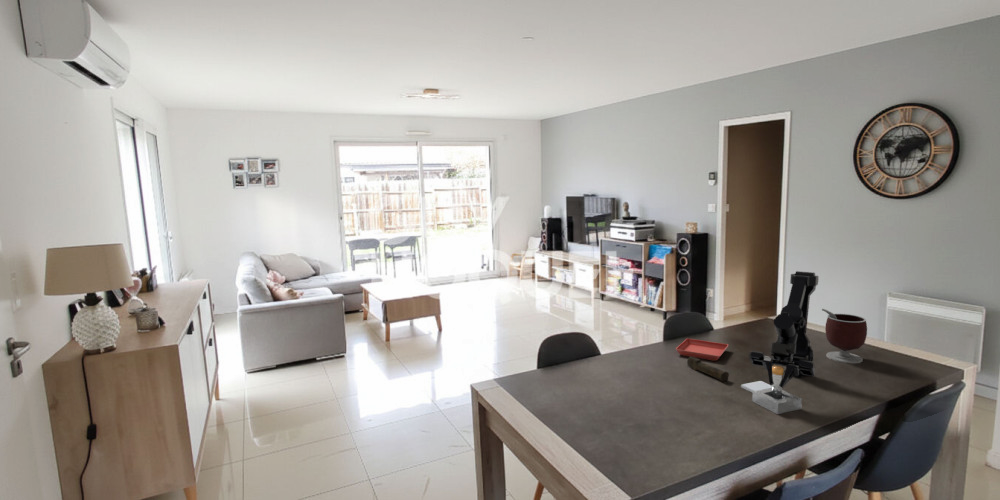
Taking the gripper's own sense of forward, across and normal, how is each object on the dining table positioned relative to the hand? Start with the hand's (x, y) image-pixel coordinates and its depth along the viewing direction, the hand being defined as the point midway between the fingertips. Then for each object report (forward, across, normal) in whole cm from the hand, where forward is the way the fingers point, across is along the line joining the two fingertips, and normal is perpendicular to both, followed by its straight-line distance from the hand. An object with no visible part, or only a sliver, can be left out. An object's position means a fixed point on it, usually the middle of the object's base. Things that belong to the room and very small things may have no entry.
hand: (776, 386), depth 161 cm
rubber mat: (-3, -7, +13) cm, 15 cm away
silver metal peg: (+4, 0, +6) cm, 7 cm away
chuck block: (+4, 0, +6) cm, 7 cm away
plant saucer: (-21, -37, +32) cm, 53 cm away
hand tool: (-5, -28, +16) cm, 33 cm away
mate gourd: (-41, +10, +51) cm, 66 cm away
